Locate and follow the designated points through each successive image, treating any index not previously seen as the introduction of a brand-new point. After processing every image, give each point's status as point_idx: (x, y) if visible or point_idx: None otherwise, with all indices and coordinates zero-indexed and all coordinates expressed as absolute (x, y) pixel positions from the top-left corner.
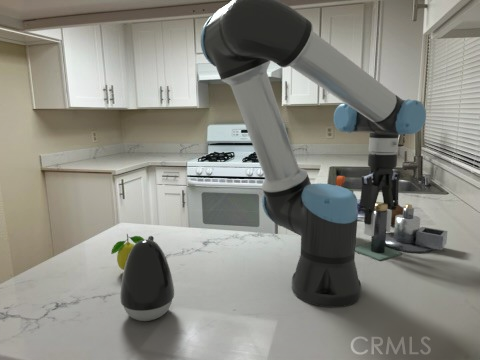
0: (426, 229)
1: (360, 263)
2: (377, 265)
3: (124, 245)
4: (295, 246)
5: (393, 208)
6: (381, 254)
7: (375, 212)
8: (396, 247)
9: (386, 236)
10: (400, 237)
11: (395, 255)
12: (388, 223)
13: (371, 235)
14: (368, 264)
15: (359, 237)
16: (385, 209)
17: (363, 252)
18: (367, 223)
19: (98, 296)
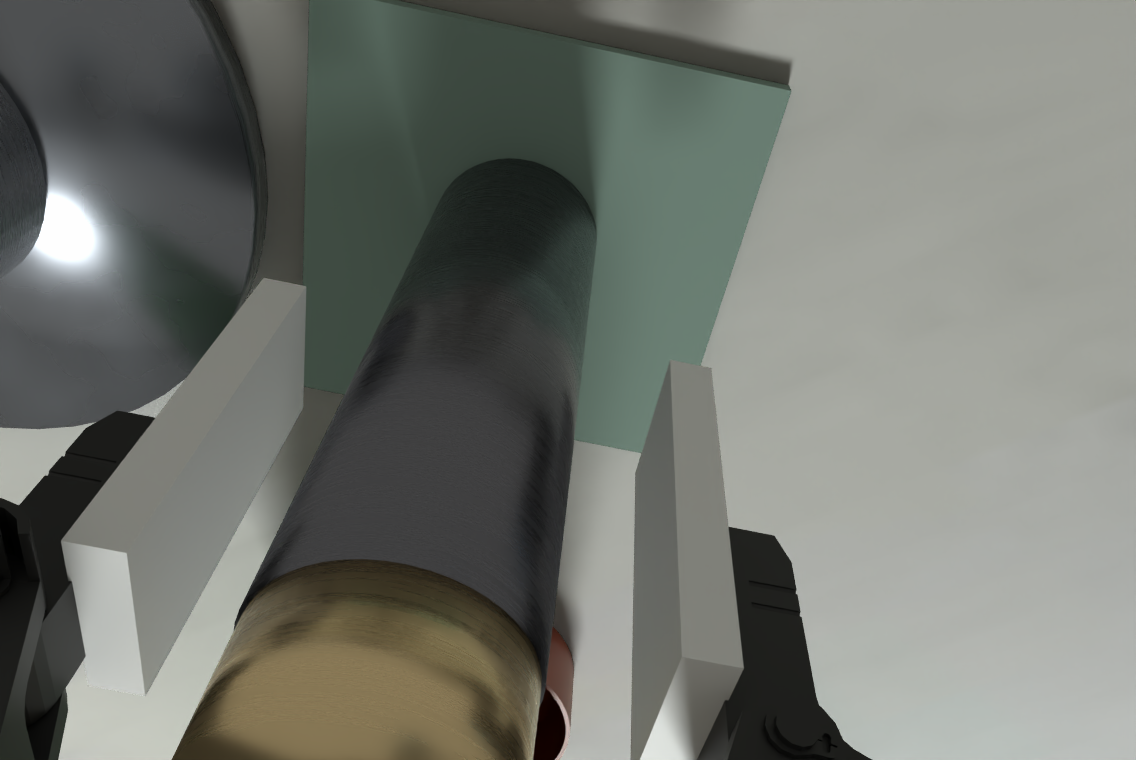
0: None
1: (1016, 207)
2: (958, 31)
3: None
4: (937, 750)
5: (6, 552)
6: (597, 152)
7: (546, 679)
8: (238, 116)
9: (23, 361)
10: (5, 184)
11: (458, 16)
12: (251, 380)
13: (706, 383)
14: (992, 127)
15: (261, 535)
16: (404, 621)
17: (692, 323)
18: (774, 564)
19: None
